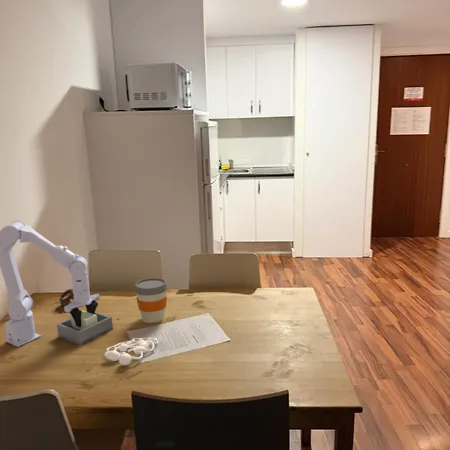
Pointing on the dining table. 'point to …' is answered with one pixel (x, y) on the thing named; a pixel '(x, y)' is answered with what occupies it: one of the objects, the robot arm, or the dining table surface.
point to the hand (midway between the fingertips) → (84, 323)
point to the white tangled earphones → (125, 357)
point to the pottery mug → (67, 300)
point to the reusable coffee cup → (151, 299)
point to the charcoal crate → (85, 330)
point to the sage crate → (85, 320)
